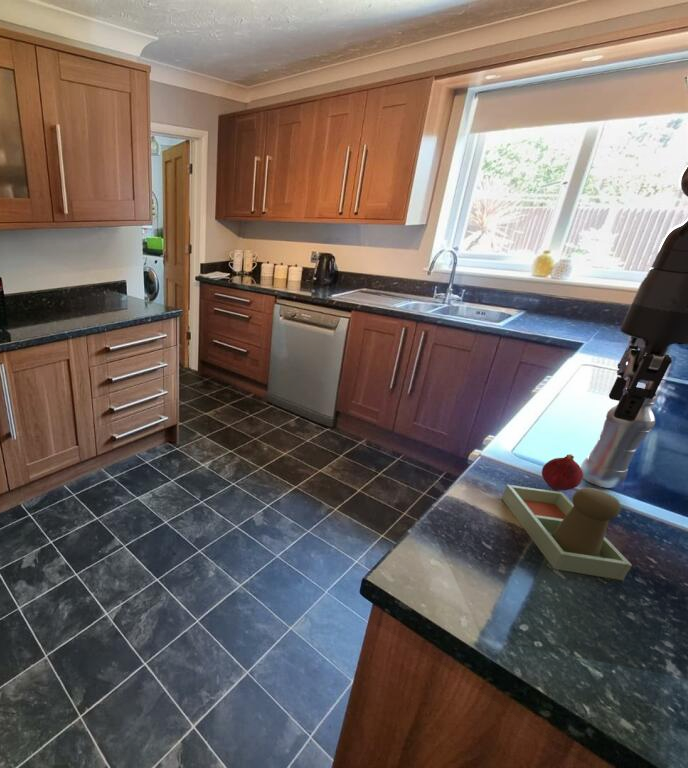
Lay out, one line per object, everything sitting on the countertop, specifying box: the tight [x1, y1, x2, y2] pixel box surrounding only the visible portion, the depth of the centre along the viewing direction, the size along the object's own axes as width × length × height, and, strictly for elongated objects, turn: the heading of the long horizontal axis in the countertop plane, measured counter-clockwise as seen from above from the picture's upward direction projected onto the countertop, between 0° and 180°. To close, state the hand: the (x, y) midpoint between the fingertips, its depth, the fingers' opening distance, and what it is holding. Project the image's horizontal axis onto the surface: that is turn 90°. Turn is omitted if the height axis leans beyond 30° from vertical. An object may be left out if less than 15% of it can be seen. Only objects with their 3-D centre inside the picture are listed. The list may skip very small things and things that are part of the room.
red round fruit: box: [541, 453, 584, 492], centre depth 81 cm, size 6×6×8 cm
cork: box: [551, 487, 622, 557], centre depth 65 cm, size 6×6×11 cm
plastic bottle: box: [580, 393, 658, 489], centre depth 81 cm, size 6×7×20 cm
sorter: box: [501, 484, 633, 581], centre depth 71 cm, size 9×17×3 cm, turn 167°
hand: (619, 408), depth 65 cm, fingers open, 8 cm apart
